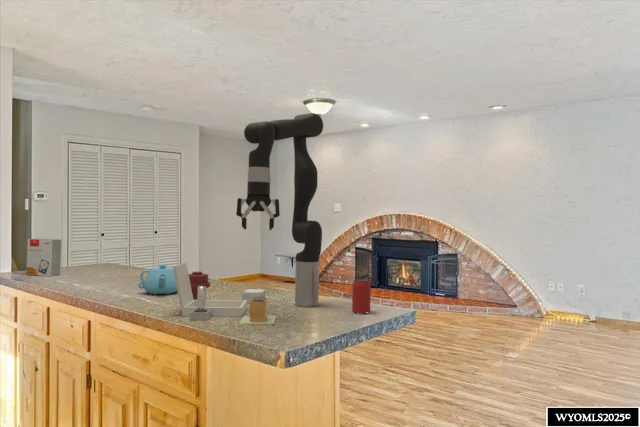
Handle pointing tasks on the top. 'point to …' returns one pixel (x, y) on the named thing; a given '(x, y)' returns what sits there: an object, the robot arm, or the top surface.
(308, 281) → the robot arm
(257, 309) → the module
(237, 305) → the case
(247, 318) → the pad
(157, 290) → the teapot
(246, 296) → the small box
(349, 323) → the top surface
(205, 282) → the mechanical component
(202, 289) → the rod
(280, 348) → the top surface
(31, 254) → the hard drive box
